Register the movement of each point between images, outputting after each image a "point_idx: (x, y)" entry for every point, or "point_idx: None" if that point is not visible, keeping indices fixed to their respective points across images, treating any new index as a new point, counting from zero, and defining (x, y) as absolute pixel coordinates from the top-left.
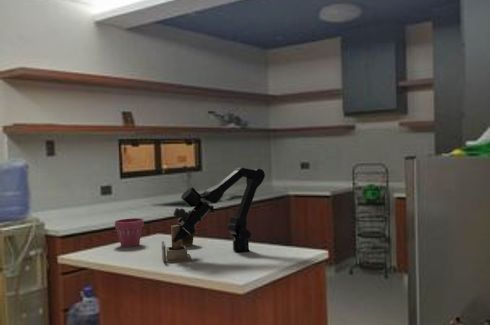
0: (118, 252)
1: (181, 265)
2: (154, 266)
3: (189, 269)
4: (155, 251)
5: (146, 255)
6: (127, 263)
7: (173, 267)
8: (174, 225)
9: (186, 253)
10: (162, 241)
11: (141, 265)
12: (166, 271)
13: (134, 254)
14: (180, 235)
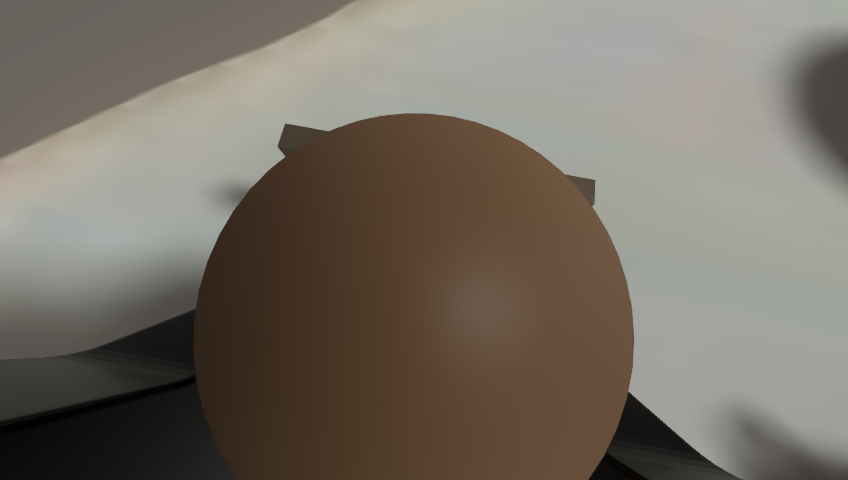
0: (778, 39)
1: (178, 284)
2: (275, 125)
3: (14, 302)
4: (745, 236)
5: (628, 154)
6: (448, 23)
7: (161, 219)
8: (581, 285)
9: None
10: (582, 187)
11: (351, 71)
12: (89, 154)
13: (687, 100)
14: None
